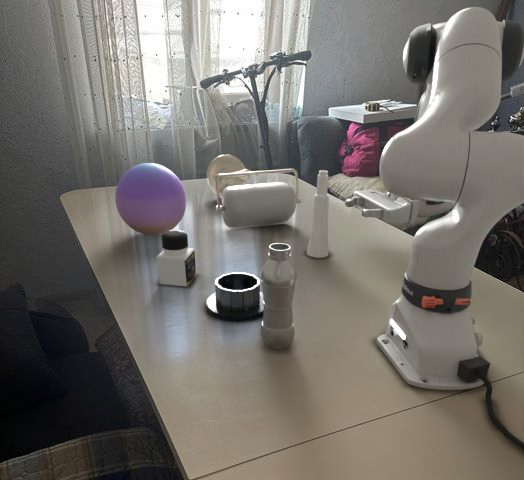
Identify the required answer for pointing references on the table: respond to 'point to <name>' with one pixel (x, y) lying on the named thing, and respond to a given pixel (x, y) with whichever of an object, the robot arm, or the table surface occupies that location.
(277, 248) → the plastic bottle
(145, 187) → the ball
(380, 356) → the table surface
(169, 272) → the medicine bottle
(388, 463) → the table surface
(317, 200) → the cosmetic bottle
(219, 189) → the lamp
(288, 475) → the table surface
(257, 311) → the stand
